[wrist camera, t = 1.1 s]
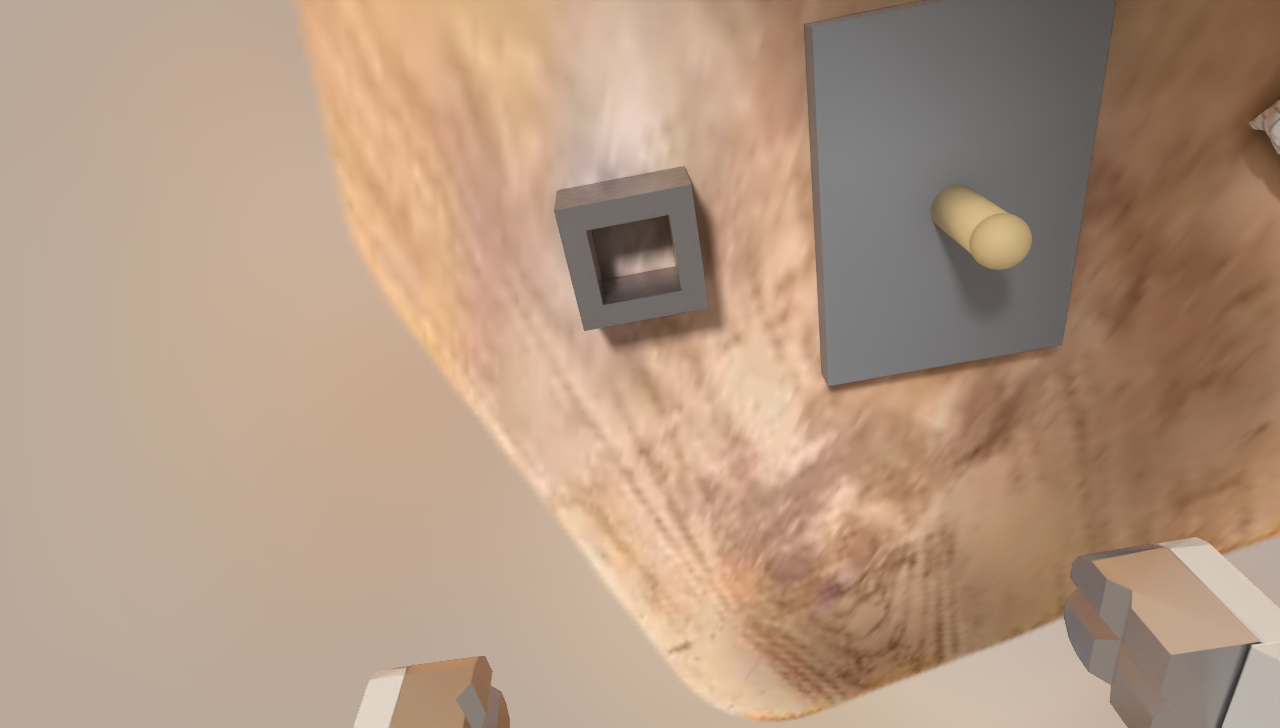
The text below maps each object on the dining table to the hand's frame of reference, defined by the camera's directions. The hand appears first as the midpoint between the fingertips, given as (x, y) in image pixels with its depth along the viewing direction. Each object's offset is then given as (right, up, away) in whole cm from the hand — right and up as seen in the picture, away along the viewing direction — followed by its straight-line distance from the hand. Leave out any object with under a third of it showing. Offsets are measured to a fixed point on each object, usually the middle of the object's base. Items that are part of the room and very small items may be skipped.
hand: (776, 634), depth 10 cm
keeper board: (+15, +13, +29) cm, 35 cm away
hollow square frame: (-2, +11, +29) cm, 31 cm away
